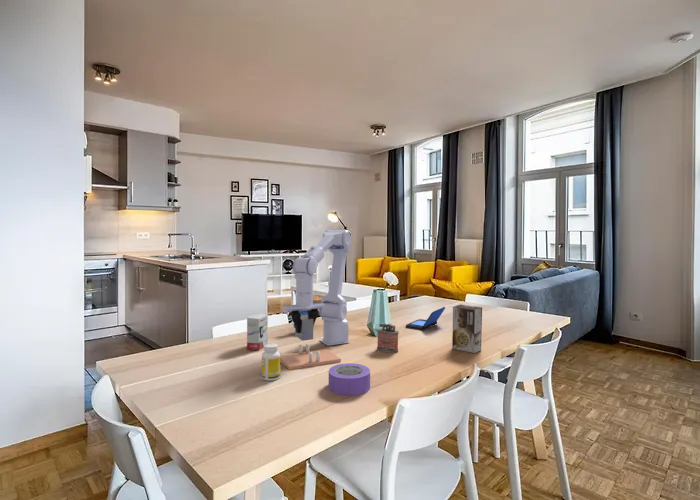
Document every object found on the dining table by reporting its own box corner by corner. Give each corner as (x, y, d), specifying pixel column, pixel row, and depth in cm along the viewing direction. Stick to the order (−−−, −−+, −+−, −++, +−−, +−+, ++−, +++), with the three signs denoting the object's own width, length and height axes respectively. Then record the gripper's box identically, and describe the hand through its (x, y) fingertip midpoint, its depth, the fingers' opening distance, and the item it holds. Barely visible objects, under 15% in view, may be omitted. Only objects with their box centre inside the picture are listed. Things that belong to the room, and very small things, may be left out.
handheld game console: (419, 321, 194) (419, 303, 193) (445, 325, 186) (446, 306, 186) (404, 328, 181) (405, 307, 181) (432, 332, 173) (432, 311, 173)
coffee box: (481, 350, 149) (483, 307, 148) (474, 353, 144) (475, 309, 143) (459, 344, 155) (460, 303, 154) (451, 348, 150) (452, 306, 149)
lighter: (399, 350, 146) (399, 323, 146) (396, 353, 143) (397, 325, 143) (378, 347, 150) (379, 321, 149) (375, 350, 147) (376, 323, 146)
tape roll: (337, 399, 105) (337, 380, 104) (322, 383, 115) (322, 366, 115) (377, 392, 109) (377, 374, 109) (359, 377, 120) (359, 361, 120)
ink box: (258, 351, 144) (258, 318, 143) (246, 350, 145) (246, 317, 144) (268, 344, 152) (268, 313, 152) (256, 343, 153) (256, 313, 153)
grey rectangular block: (305, 334, 141) (306, 314, 141) (313, 339, 135) (313, 318, 134) (295, 335, 139) (295, 315, 139) (302, 340, 133) (302, 319, 133)
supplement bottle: (283, 375, 120) (283, 343, 119) (274, 382, 115) (274, 348, 114) (267, 373, 122) (267, 341, 121) (258, 379, 117) (258, 346, 116)
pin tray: (326, 351, 144) (326, 340, 144) (340, 361, 133) (340, 350, 133) (278, 358, 136) (278, 347, 136) (289, 369, 125) (289, 357, 125)
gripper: (287, 295, 129) (287, 336, 130) (328, 293, 136) (328, 332, 136) (281, 292, 136) (281, 331, 136) (320, 290, 142) (320, 327, 143)
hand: (304, 331), depth 137 cm, fingers closed on grey rectangular block, 4 cm apart
